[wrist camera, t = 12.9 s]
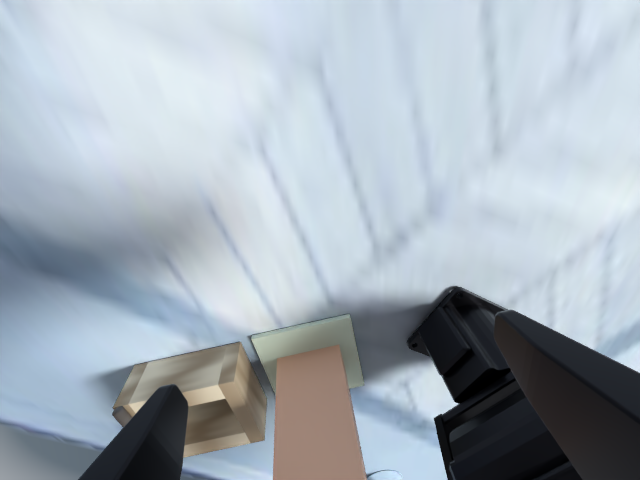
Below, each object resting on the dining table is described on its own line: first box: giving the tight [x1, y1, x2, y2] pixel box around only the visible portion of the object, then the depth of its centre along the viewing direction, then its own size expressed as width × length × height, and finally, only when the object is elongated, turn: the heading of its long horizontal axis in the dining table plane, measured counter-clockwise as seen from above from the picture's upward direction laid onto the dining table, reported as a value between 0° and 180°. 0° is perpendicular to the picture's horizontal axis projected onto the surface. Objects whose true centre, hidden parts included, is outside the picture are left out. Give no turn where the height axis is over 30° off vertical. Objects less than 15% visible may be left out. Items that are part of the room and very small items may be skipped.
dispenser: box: [112, 342, 267, 458], centre depth 24 cm, size 8×7×4 cm
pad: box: [251, 314, 364, 395], centre depth 26 cm, size 8×8×1 cm
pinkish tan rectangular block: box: [273, 345, 367, 480], centre depth 21 cm, size 5×3×11 cm, turn 102°
